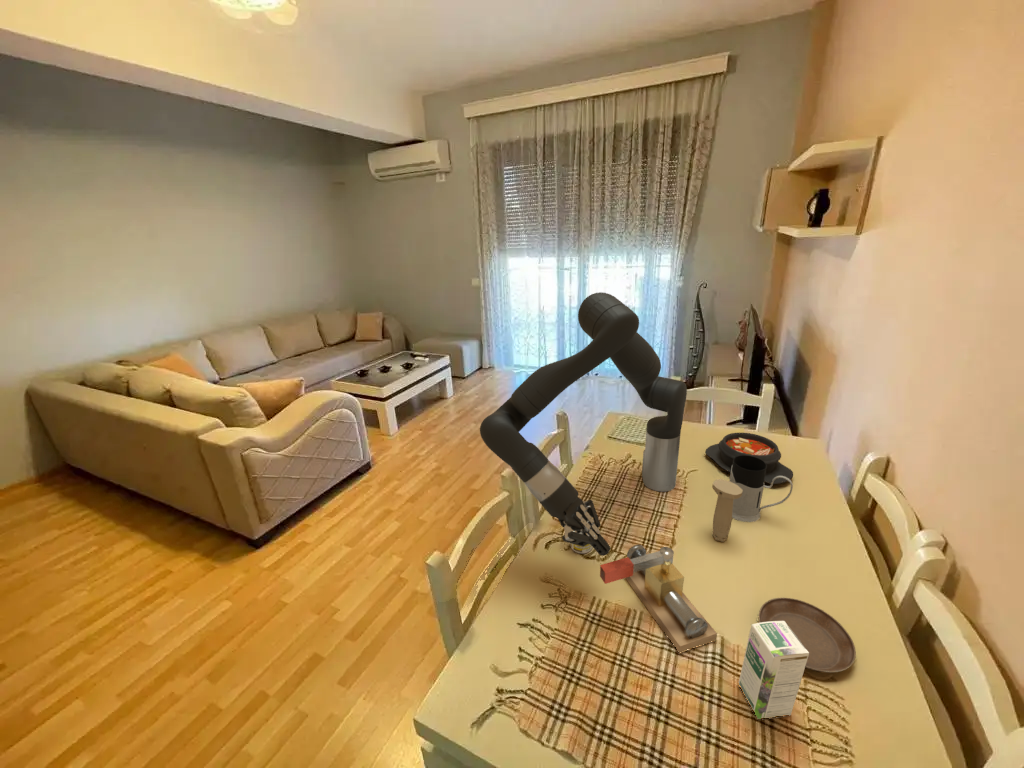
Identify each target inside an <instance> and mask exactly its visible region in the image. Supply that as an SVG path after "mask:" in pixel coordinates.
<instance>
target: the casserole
mask: <svg viewBox="0 0 1024 768" xmlns="http://www.w3.org/2000/svg"><path fill="white" fill-rule="evenodd" d="M705 455H706V456H708V457H709V458H710V459H712V460H713V461H714V463H716V464H717V465H718V467H720V468H721V469H723V470H725V471H726V472H728V473H730V474H731V467H732V465H733V459H734V458H735V457H737V456H740V455H748V456H753V457H756V458H759V459H761V460H762V461H764V462H765V463H766V465H767V468H766V473H765V479H764V483H767V484H770V485H771V482H772V480H773V479H774V478H775V477H776V476H785V477H787V478H789V479H790V480H792V478H793V477H794V472H793V470H791V468H789V467H787V466H785V464H783V463H781V462H780V460H781V459H782V453H781V451H780V450H779V447H778V445H777V444H776V442H774V441H773V440H772V439H769V438H768V437H765V436H763V435H759V434H756V433H750V432H731V433H728V434H726V435H725V436H724V437H723V438H722V439H721V440H720V441H719V442H718V443H714V444H712V445H710V446H709V447H707V448H706V449H705ZM786 482H789V481H788V480H786V479H784V478H777V479H775V480H774V482H773V485H778V484H785V483H786Z"/></svg>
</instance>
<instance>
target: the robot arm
mask: <svg viewBox="0 0 1024 768" xmlns="http://www.w3.org/2000/svg"><path fill="white" fill-rule="evenodd" d="M577 320H578V324H579V326H580V328H581V330H582V331H583V332H584V333H585V334H586V335H587V336H588V337H589V338H591V340H592V341H591V342H590V343H589V344H587V345H586V346H585V347H584V348H583V349H582V350H580V351H579V352H576V353H575V354H573V355H570V356H568V357H566V358H562V359H561V360H557V361H553V362H550V363H547V364H544V365H543V366H541V367H539V368H537V369H536V370H535V371H533V372H532V373H531V374H530V375H529V376H528V377H527V378H526V379H525V380H524V381H523V382H522V383H521V384H520V385H519V386H518V387H516V389H515V390H514V391H513V392H512V394H511V396H510V397H509V398H508V399H507V400H506V401H505V402H504V403H503V404H502V405H500V406H499V408H497V409H496V410H495V411H494V412H492V413H491V414H489V415H488V416H486V417H485V418H484V419H483V420H482V421H481V424H480V427H479V434H480V437H481V439H482V442H483V443H484V444H485V445H486V446H487V449H489V450H490V451H491V452H492V453H493V454H494V455H496V456H497V457H498V458H499V459H500V460H502V461H503V462H504V463H505V464H506V465H508V466H510V467H511V469H512V470H513V472H514V473H515V474H516V476H517V477H519V479H520V480H521V481H522V482H523V483H524V485H525V486H526V488H527V489H528V490H529V492H530V493H531V495H532V496H533V497H534V498H535V499H536V500H537V501H538V503H539V504H540V505H541V506H542V507H543V508H544V510H545V512H547V513H548V514H549V515H550V516H551V517H553V518H556V519H557V520H558V521H559V524H560V525H561V526H562V527H563V529H564V531H563V532H564V535H562V537H561V539H562V541H563V542H564V543H568V544H570V543H571V544H575V545H579V546H582V547H584V546H586V545H588V544H590V545H591V546H592V549H593V550H595V552H596V553H597V554H598V555H600V556H602V557H604V556H607V555H609V553H610V551H611V549H612V547H611V545H610V544H609V542H608V541H607V540H606V539H605V538H604V537H603V535H602V534H601V531H600V529H599V528H600V527H601V526H602V525H601V521H600V519H599V516H598V513H597V509H596V507H595V504H594V501H593V500H592V499H588V500H585V501H583V499H582V498H580V497H579V491H578V489H576V488H575V486H574V485H573V484H572V483H571V482H570V481H569V480H568V478H567V477H566V476H565V475H564V474H563V473H562V472H561V471H560V470H559V469H558V467H557V466H555V465H554V464H553V463H552V462H551V461H550V460H549V459H548V458H547V456H546V455H545V454H544V453H543V452H542V451H541V449H539V447H538V446H537V445H536V444H534V443H532V442H529V441H527V439H526V438H524V436H523V435H522V434H521V433H520V431H521V430H522V429H524V428H525V426H527V424H528V423H529V422H530V421H531V420H532V419H533V418H535V417H537V416H538V415H539V414H540V413H541V412H542V411H544V409H546V408H547V406H549V405H550V404H551V403H552V402H553V401H554V400H555V399H556V398H557V397H559V396H560V394H562V393H563V392H564V391H566V389H568V388H569V387H571V385H572V384H574V383H576V382H577V381H578V380H579V379H581V378H582V377H584V376H586V375H587V374H588V373H589V372H592V370H594V369H595V368H598V366H600V365H601V364H602V363H604V362H605V361H606V360H608V359H610V360H611V361H612V363H613V364H614V366H615V367H616V368H617V370H618V371H619V373H620V374H622V376H623V377H624V378H625V380H627V381H628V382H629V383H630V385H631V386H632V387H633V388H634V389H635V391H636V392H637V395H638V396H639V397H640V399H641V402H642V403H643V404H644V405H645V406H646V407H647V408H649V409H653V410H657V411H660V412H664V413H666V415H657V416H653V417H652V418H650V419H649V420H647V423H646V429H645V430H646V431H645V444H644V445H645V448H644V449H643V451H642V452H643V454H642V465H641V466H642V467H641V469H642V470H641V477H642V481H643V484H644V486H646V487H647V488H648V489H650V490H653V491H656V492H662V493H663V492H670V491H672V490H674V489H675V488H676V483H677V475H678V473H677V472H678V463H679V454H680V453H679V452H680V442H681V434H682V433H681V432H682V427H683V421H684V413H685V407H686V402H687V395H688V390H687V385H686V383H685V381H683V380H677V379H673V378H670V377H669V378H668V377H663V376H659V375H660V374H661V371H662V365H661V364H662V363H661V360H660V358H659V356H658V354H657V353H656V351H655V350H654V347H652V346H651V344H650V343H649V342H648V341H647V340H646V339H645V338H644V337H643V336H642V335H641V334H640V333H639V332H638V330H639V327H640V320H639V316H638V314H636V312H635V311H634V310H632V309H631V308H630V307H629V306H627V305H626V304H625V303H624V302H622V301H621V300H619V299H618V298H617V297H616V296H614V295H612V294H610V293H606V292H602V291H600V292H595V293H591V294H589V295H588V296H587V297H586V298H584V299H583V300H582V302H581V303H580V306H579V308H578V313H577ZM586 534H587V535H588V536H587V535H586Z"/></svg>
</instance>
